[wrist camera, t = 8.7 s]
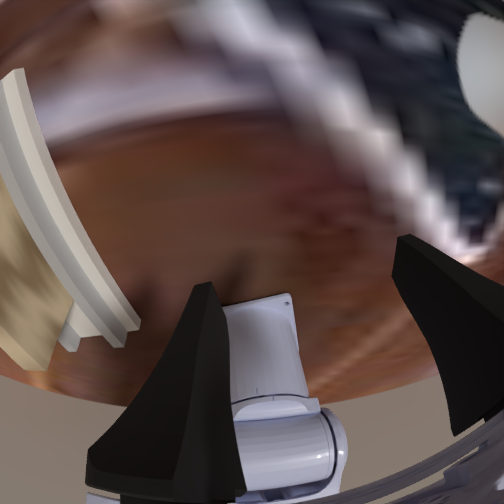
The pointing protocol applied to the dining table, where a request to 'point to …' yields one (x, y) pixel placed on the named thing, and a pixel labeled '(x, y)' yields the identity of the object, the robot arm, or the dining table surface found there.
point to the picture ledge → (57, 224)
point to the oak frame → (27, 293)
